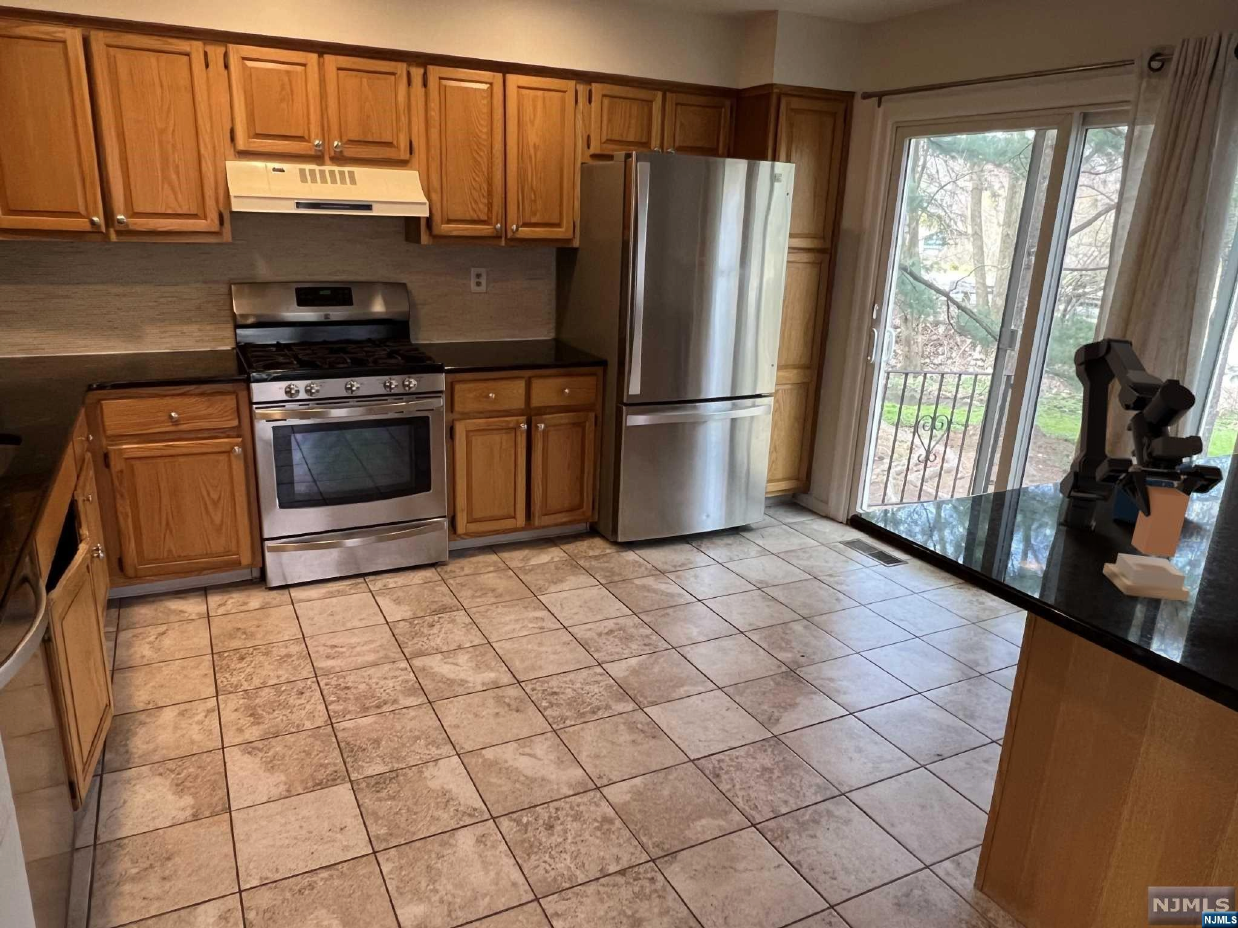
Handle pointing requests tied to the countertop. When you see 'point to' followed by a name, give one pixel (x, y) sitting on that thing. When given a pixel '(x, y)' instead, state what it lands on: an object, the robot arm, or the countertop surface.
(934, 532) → the countertop surface
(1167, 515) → the pillar block
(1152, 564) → the tower top
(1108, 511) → the countertop surface
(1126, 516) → the navy rounded box
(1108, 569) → the tower base
